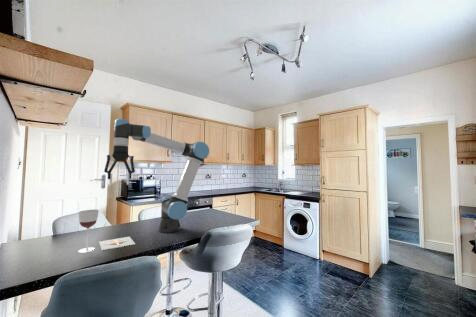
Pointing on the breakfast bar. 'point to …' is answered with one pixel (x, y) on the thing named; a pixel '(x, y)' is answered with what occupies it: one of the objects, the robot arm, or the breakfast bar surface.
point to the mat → (116, 243)
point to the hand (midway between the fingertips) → (119, 184)
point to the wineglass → (87, 225)
